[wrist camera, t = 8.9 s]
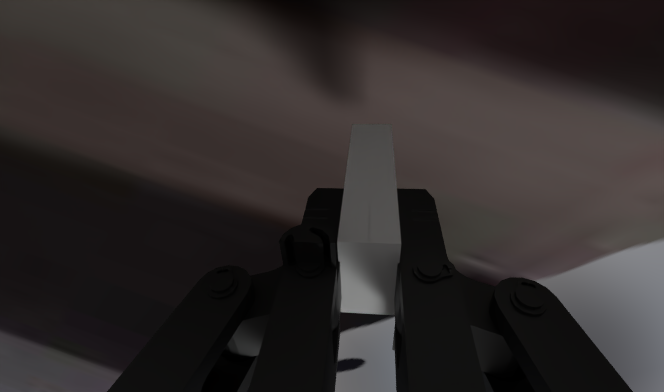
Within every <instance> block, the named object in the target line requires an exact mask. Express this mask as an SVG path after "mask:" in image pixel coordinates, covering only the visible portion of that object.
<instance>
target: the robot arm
mask: <svg viewBox="0 0 664 392" xmlns="http://www.w3.org/2000/svg"><path fill="white" fill-rule="evenodd" d="M279 243H280V249H281V254H282V260H283V266H281V267H279V268H277V269H275V270H272V271H269V272H265V273H261V274H256V275H252V276H250V275H249V274H248V272H247V271H246V270H245V269H243V268H241V267H239V266H230V265H228V266H223V267H218V268H216V269H214V270H212V271H210V272H208V273H207V274H206V275H204V276H203V277H202V278H201V279H200V280H199V281H198V282H197V284H196V285H195V286H194V287H193V288H192V290H191V291H190V292H189V293H188V295H187V296H186V297H185V298H184V299H183V301H182V302H181V303H180V304H179V305H178V307H177V308H176V309H175V310H174V311H173V313H172V314H171V315H170V316H169V318H168V319H167V320H166V321H165V322H164V324H163V325H162V326H161V327H160V328H159V330H158V331H157V332H156V333H155V334H154V336H153V337H152V338H151V339H150V340H149V342H148V343H147V344H146V345H145V347H144V348H143V349H142V350H141V351H140V353H139V354H138V355H137V356H136V357H135V359H134V360H133V361H132V362H131V363H130V365H129V366H128V367H127V368H126V370H125V371H124V372H123V373H122V374H121V376H120V377H119V378H118V379H117V380H116V382H115V383H114V384H113V385H112V386H111V388H110V389H109V390H108V391H107V392H246V391H247V389H248V387H249V385H250V387H249V390H248V392H335V382H336V372H337V360H338V349H339V338H340V310H341V312H349V313H366V314H383V315H394V314H395V331H394V341H393V350H395V364H396V390H397V392H633V391H632V390H631V389H630V388H629V386H628V385H627V384H626V383H625V381H624V380H623V379H622V378H621V376H620V375H619V374H618V373H617V372H616V370H615V369H614V368H613V366H612V365H611V364H610V363H609V362H608V360H607V359H606V358H605V357H604V355H603V354H602V353H601V352H600V351H599V349H598V348H597V347H596V345H595V344H594V343H593V342H592V340H591V339H590V338H589V337H588V336H587V334H586V333H585V332H584V330H583V329H582V328H581V327H580V325H579V324H578V323H577V322H576V321H575V319H574V318H573V317H572V316H571V314H570V313H569V312H568V311H567V310H566V308H565V307H564V306H563V304H562V303H561V302H560V301H559V300H558V298H557V297H556V296H555V295H554V294H553V293H552V292H551V291H550V290H548V289H547V288H546V287H544V286H542V285H541V284H539V283H537V282H535V281H532V280H529V279H525V278H508V279H505V280H502V281H501V282H500V283H499V284H498V285H497V286H496V287H495V286H491V285H488V284H485V283H481V282H478V281H475V280H473V279H470V278H467V277H466V276H464V275H462V274H461V273H459V272H458V271H457V270H456V269H455V267H454V265H453V264H452V263H451V262H450V261H449V260H448V257H447V254H446V249H445V245H444V240H443V236H442V232H441V227H440V223H439V218H438V214H437V209H436V205H435V200H434V198H433V197H432V196H431V195H430V194H429V193H428V192H427V190H426V189H397V185H396V173H395V161H394V149H393V137H392V125H391V124H352V131H351V139H350V146H349V154H348V162H347V170H346V177H345V185H344V189H336V188H317V189H316V190H315V191H314V192H313V193H312V194H311V195H310V196H309V197H308V201H307V205H306V210H305V212H304V216H303V220H302V224H301V225H298V226H296V227H293V228H291V229H289V230H288V231H287V232H285V233H284V234H283V236H282V237H281V239H280V241H279Z"/></svg>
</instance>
